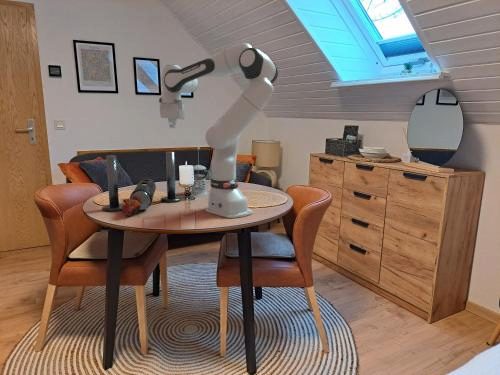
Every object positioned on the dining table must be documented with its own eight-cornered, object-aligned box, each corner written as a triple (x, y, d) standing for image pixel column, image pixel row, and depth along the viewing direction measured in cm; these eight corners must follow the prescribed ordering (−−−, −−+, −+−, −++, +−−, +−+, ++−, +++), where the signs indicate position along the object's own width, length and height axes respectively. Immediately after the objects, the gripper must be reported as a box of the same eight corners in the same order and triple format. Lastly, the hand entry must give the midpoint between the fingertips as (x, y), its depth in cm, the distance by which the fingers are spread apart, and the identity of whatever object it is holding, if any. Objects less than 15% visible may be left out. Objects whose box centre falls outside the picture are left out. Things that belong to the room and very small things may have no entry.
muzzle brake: (156, 197, 184) (156, 177, 182) (152, 212, 157) (151, 189, 155) (137, 197, 183) (136, 177, 180) (129, 213, 156) (128, 190, 154)
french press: (187, 191, 197) (186, 146, 192) (207, 190, 202) (207, 145, 197) (192, 195, 189) (191, 148, 183) (213, 193, 193) (213, 147, 188)
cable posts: (185, 200, 178) (184, 152, 173) (106, 213, 155) (102, 158, 150) (176, 196, 185) (174, 150, 180) (99, 207, 162) (95, 155, 157)
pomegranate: (143, 218, 156) (129, 202, 158) (149, 207, 152) (134, 191, 154) (130, 224, 150) (115, 208, 152) (135, 213, 146) (120, 196, 148)
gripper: (187, 99, 170) (188, 129, 173) (168, 99, 186) (169, 126, 189) (175, 99, 166) (176, 129, 169) (157, 99, 182) (158, 126, 185)
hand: (172, 128), depth 179 cm, fingers closed
